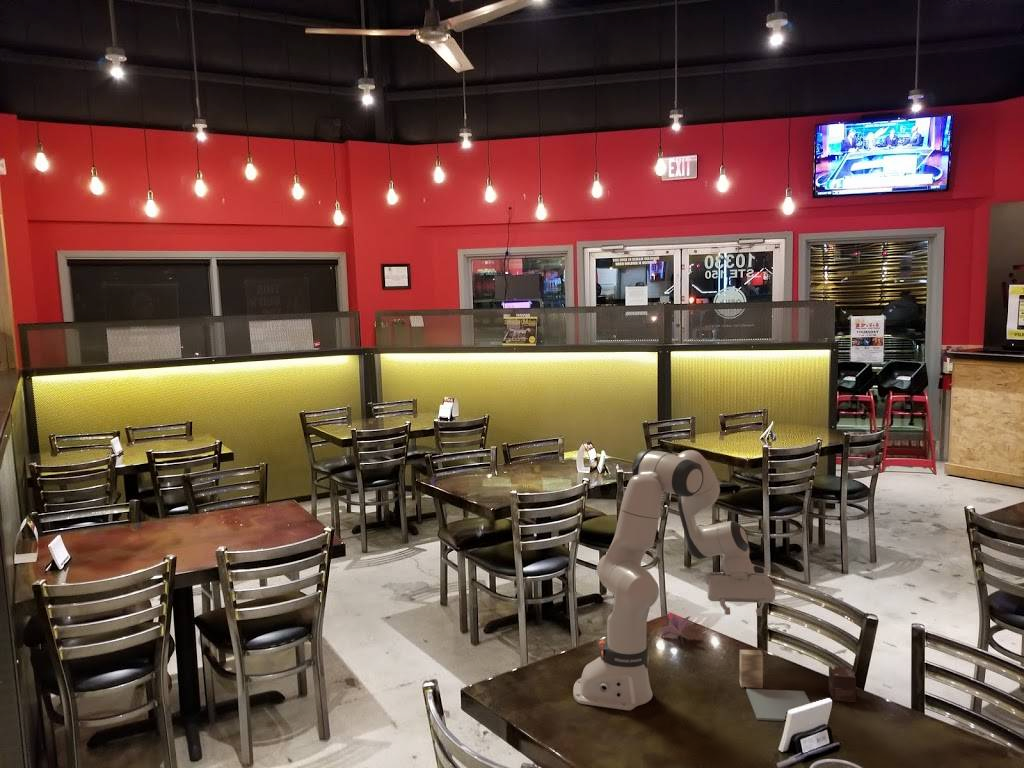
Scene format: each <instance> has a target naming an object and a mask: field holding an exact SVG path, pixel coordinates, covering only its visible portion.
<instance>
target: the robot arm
mask: <svg viewBox="0 0 1024 768" xmlns="http://www.w3.org/2000/svg"><path fill="white" fill-rule="evenodd" d="M631 470H632V472H631V473H632V477H631V478H629V480H628V483H627V486H626V488H625V490H624V493H623V497H622V501H621V504H620V509H619V514H618V518H617V519H618V520H617V524H616V528H615V532H614V537H613V539H612V542H611V544H610V545H609V548H608V549H607V551H606V553H605V554H604V555H602V557H600V558H599V561H598V563H597V565H596V575H597V577H598V579H599V581H600V582H601V585H602V586H603V587H604V588H605V589H607V591H609V592H610V593H611V594H612V595H613V599H614V600H613V601H614V603H613V608H612V611H611V613H610V614H609V615H608V617H607V619H606V625H607V626H606V628H607V629H606V630H607V632H606V634H607V635H606V638H607V639H606V641H605V640H600V641H599V642H598V648H599V652H600V653H599V656H598V657H597V658H595V659H593V660H592V661H590V662H589V663H587V664H586V665H585V666H584V668H583V671H582V673H581V677H579V678H578V679H577V680H576V681H575V683H574V685H573V688H572V689H573V690H572V693H573V694H572V695H573V699H574V700H575V701H576V702H577V703H579V704H580V705H589V706H593V707H594V706H596V707H601V708H608V709H615V710H616V709H617V710H624V711H632V710H635V708H636V707H638V706H642V705H644V704H647V703H648V702H649V701H651V700H652V698H653V691H652V689H651V688H652V687H651V683H650V678H649V673H648V672H649V671H648V667H649V648H648V645H647V628H648V627H647V623H648V616H649V612H650V610H651V609H650V608H651V607H653V606H654V604H655V603H656V602H657V600H658V597H659V593H660V588H659V584H658V582H657V581H656V579H655V577H654V576H653V575H652V574H651V572H650V571H649V570H647V569H645V568H644V567H643V566H642V560H643V558H644V557H645V554H646V553H647V551H648V550H649V549H650V548H652V547H653V546H654V543H655V540H656V535H657V531H658V530H657V529H658V524H659V520H660V514H661V506H662V497H663V495H664V494H665V493H668V494H671V495H672V494H673V495H676V496H678V498H677V509H678V514H679V518H680V522H681V525H682V526H681V527H682V528H683V532H684V535H685V542H686V548H687V551H688V553H689V554H690V555H691V556H692V557H693V558H696V559H697V560H703V559H707V558H710V557H714V556H721V555H722V558H723V561H722V567H723V568H722V569H723V571H718V572H714V571H709V573H706V575H705V578H704V579H705V583H706V585H707V599H708V600H709V601H710V602H719V605H720V606H721V607H722V609H723V610H724V615H725V616H726V615H727V616H729V615H731V607H730V606H729V607H728V606H727V605H726V603H727V602H730V603H731V602H732V603H757V604H758V606H759V607H756V608H755V613H756V615H755V616H760V617H761V616H763V608H764V605H765V603H766V604H767V603H768V604H772V603H773V602H774V601H775V599H776V591H775V586H774V585H773V584H774V583H773V582H772V579H771V578H770V577H769V576H768V575H769V574H768V573H769V572H768V571H769V570H768V569H767V568H766V567H763V566H760V565H757V564H754V563H752V561H751V559H750V542H749V537H748V533H747V531H746V529H745V527H744V526H743V525H741V524H739V523H738V522H736V521H734V520H728V521H723V522H718V523H715V524H710V525H709V524H708V525H703V526H701V525H697V522H696V518H695V517H696V515H698V514H699V513H701V512H703V511H705V510H708V509H709V508H711V507H712V506H713V505H715V503H716V502H717V500H718V499H719V496H720V493H721V488H720V483H719V479H718V478H717V476H716V473H715V471H714V470H713V469H712V467H711V465H710V463H709V462H708V461H707V459H706V458H705V457H704V456H703V454H701V453H700V452H699V451H697V450H693V449H688V450H683V451H681V452H680V453H679V454H677V455H675V454H673V453H671V452H666V451H660V450H656V449H643V450H642V449H641V450H640V452H638V454H636V456H635V458H634V459H633V463H632V467H631Z"/></svg>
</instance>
